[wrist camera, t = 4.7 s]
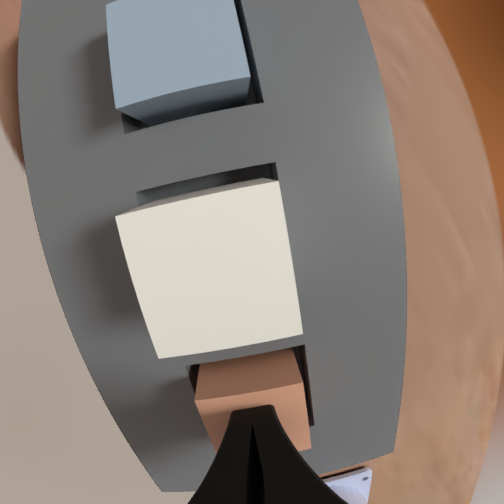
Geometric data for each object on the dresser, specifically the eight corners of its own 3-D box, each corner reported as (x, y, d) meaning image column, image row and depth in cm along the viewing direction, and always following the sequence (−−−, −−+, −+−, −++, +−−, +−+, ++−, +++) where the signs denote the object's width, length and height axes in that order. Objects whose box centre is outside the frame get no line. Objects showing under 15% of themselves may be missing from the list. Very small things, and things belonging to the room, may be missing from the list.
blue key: (245, 105, 10) (250, 76, 7) (150, 126, 10) (115, 108, 7) (228, 23, 9) (227, -27, 6) (138, 44, 9) (105, 4, 6)
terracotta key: (296, 392, 13) (311, 448, 10) (222, 405, 13) (220, 463, 10) (286, 329, 12) (303, 382, 9) (202, 345, 12) (194, 400, 9)
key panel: (374, 416, 15) (393, 451, 13) (168, 452, 15) (161, 491, 12) (307, -44, 9) (321, -81, 7) (54, 13, 9) (23, -10, 6)
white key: (281, 282, 10) (303, 333, 7) (180, 301, 10) (158, 358, 7) (262, 177, 10) (278, 180, 6) (154, 200, 10) (115, 216, 6)
